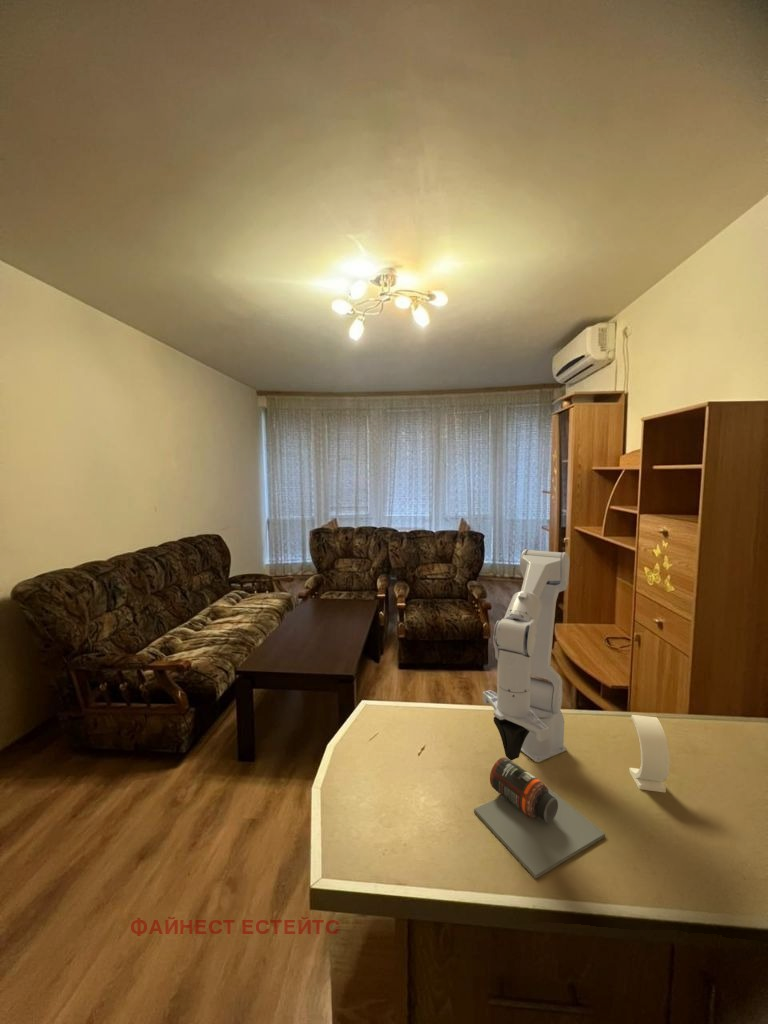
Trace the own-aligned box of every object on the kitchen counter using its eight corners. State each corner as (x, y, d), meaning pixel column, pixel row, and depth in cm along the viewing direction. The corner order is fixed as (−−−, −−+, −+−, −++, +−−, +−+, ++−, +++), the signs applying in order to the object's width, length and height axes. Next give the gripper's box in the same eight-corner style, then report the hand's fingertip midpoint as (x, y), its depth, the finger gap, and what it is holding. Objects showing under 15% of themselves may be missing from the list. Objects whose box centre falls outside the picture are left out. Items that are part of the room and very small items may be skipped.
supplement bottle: (495, 793, 78) (548, 836, 68) (483, 776, 76) (536, 818, 66) (513, 766, 80) (565, 804, 71) (501, 749, 78) (554, 786, 69)
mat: (538, 782, 80) (538, 779, 80) (604, 836, 68) (605, 833, 68) (474, 812, 73) (474, 808, 73) (535, 878, 60) (535, 875, 60)
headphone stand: (654, 774, 82) (656, 717, 82) (668, 796, 76) (671, 735, 76) (629, 771, 83) (631, 714, 82) (641, 793, 77) (643, 732, 77)
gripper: (470, 673, 79) (469, 741, 80) (528, 709, 66) (526, 789, 67) (498, 666, 82) (497, 731, 83) (558, 699, 69) (556, 776, 70)
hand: (512, 756), depth 75 cm, fingers closed
